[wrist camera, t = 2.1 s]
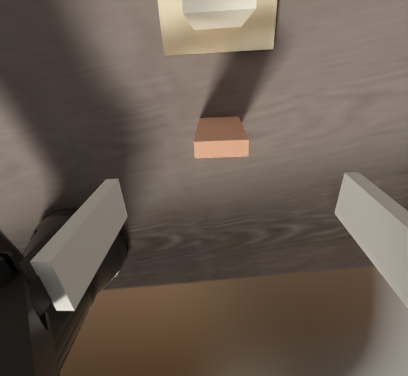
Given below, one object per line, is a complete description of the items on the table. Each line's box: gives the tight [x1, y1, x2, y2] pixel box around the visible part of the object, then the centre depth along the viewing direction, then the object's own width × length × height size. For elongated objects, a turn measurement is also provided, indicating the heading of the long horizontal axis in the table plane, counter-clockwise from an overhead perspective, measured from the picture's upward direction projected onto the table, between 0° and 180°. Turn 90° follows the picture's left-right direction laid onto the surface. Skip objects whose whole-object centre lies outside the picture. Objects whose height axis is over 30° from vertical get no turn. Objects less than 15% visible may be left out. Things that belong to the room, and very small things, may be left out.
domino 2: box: [194, 116, 249, 158], centre depth 26 cm, size 2×5×10 cm, turn 93°
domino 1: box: [182, 0, 257, 30], centre depth 20 cm, size 2×5×10 cm, turn 93°
